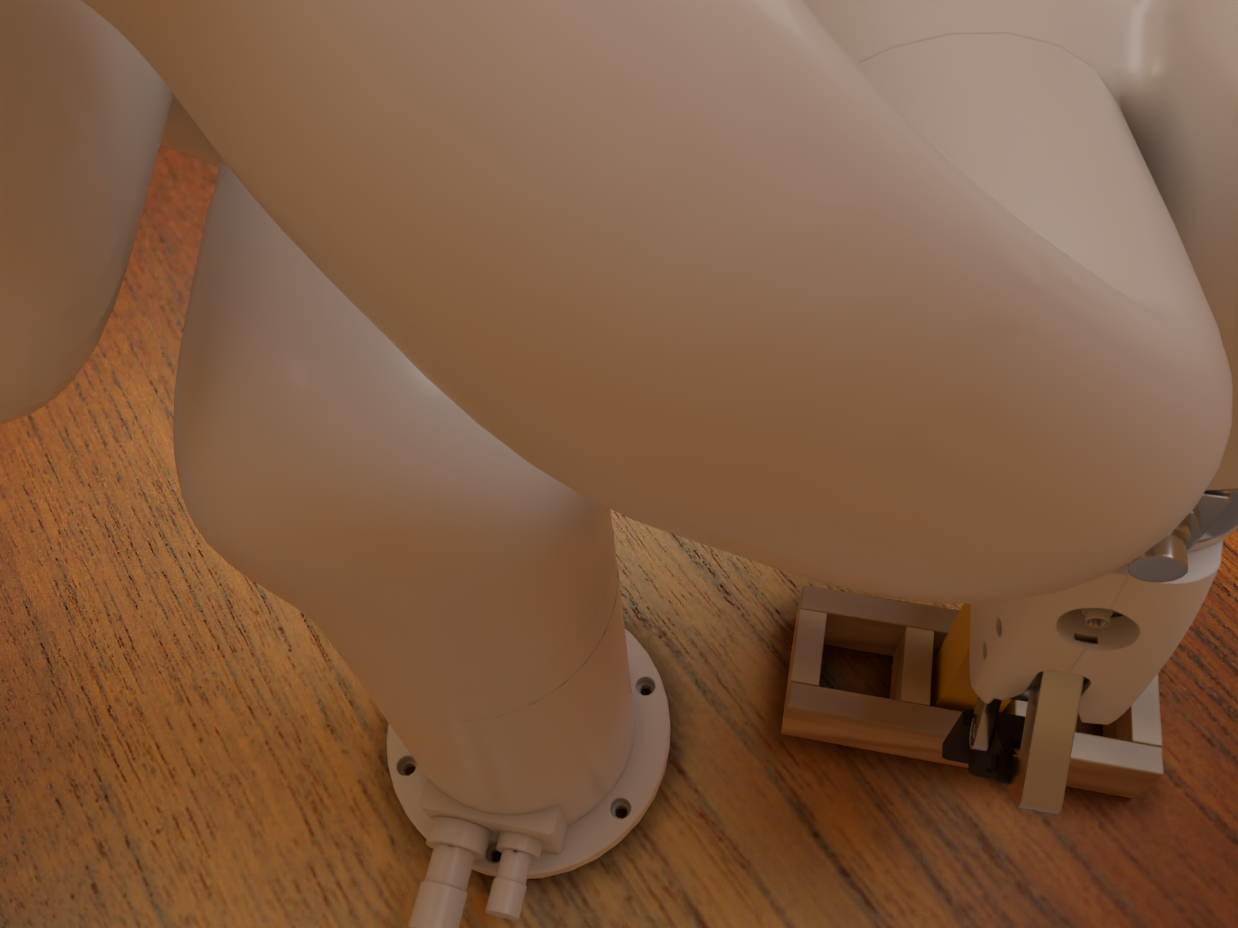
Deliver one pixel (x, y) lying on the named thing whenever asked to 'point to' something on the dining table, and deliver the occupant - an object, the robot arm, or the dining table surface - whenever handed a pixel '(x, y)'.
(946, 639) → the peg
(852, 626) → the stand
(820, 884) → the dining table surface
